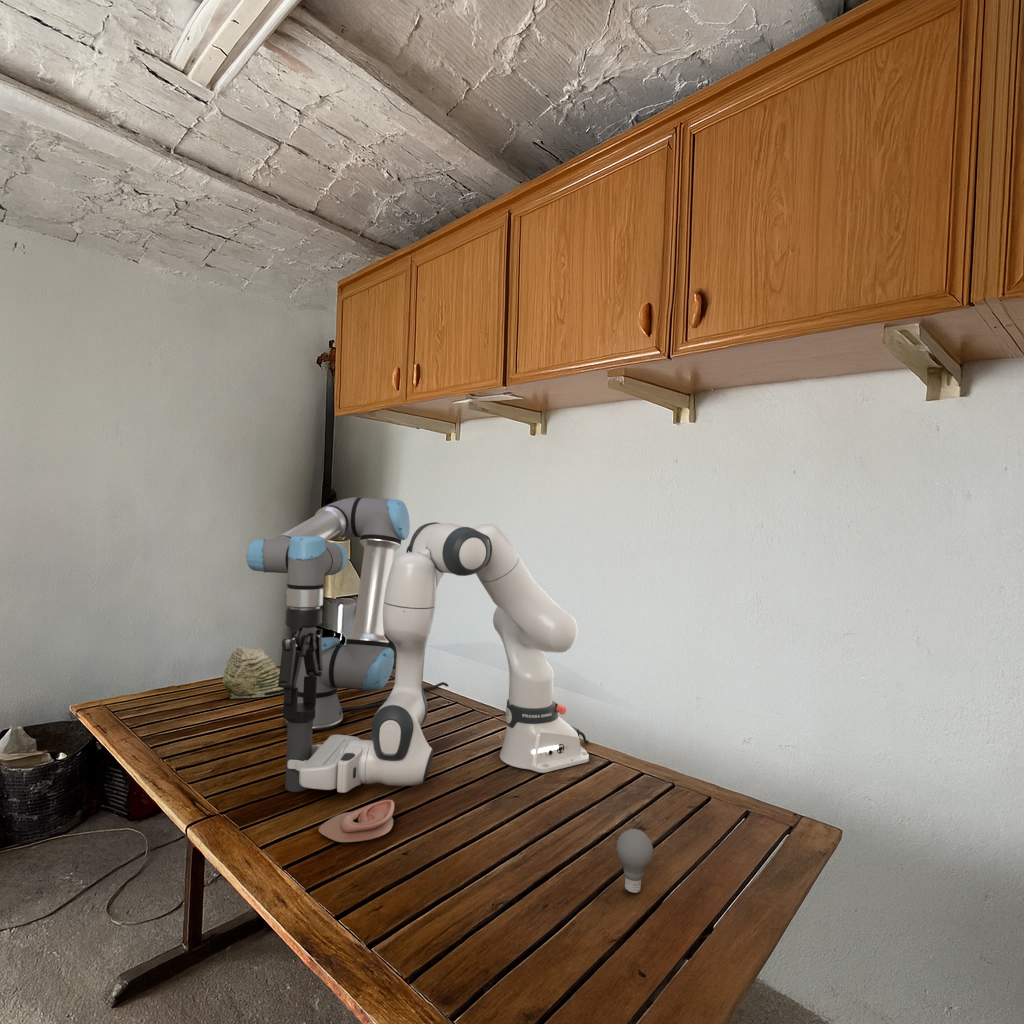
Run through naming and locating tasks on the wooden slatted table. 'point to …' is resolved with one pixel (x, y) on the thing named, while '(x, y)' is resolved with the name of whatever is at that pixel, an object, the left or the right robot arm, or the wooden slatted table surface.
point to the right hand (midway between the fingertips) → (294, 756)
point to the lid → (304, 713)
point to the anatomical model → (360, 823)
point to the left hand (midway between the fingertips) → (299, 711)
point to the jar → (297, 751)
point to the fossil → (251, 674)
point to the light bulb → (634, 857)
